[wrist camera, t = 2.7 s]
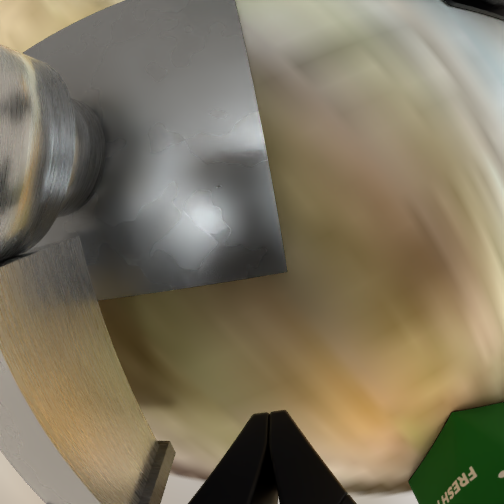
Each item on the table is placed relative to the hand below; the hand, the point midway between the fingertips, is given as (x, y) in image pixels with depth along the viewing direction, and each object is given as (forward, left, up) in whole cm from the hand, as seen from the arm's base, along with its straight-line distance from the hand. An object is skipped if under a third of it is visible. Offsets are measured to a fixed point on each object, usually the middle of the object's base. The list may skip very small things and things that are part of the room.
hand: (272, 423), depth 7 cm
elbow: (+7, -4, -3) cm, 8 cm away
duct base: (+7, -9, -6) cm, 12 cm away
